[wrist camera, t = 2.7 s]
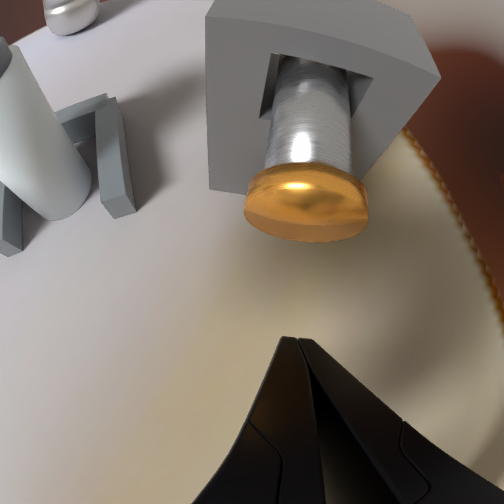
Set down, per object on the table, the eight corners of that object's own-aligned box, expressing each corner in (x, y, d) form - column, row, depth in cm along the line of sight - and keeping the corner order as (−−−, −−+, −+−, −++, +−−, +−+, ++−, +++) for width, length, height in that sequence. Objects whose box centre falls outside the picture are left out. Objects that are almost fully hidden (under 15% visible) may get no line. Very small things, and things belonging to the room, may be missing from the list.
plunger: (341, 248, 11) (390, 207, 7) (240, 231, 10) (250, 178, 7) (338, 84, 13) (362, 31, 10) (267, 68, 13) (278, 9, 9)
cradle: (136, 212, 18) (125, 193, 15) (7, 256, 16) (-13, 246, 14) (122, 112, 20) (115, 90, 17) (12, 156, 18) (-3, 140, 16)
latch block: (334, 210, 19) (441, 77, 8) (209, 189, 19) (205, 16, 7) (335, 148, 20) (409, 15, 9) (223, 127, 20) (234, -30, 9)
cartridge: (104, 179, 18) (27, 37, 7) (58, 234, 17) (-63, 127, 5) (67, 148, 19) (-4, 27, 7) (25, 197, 17) (-73, 96, 6)
